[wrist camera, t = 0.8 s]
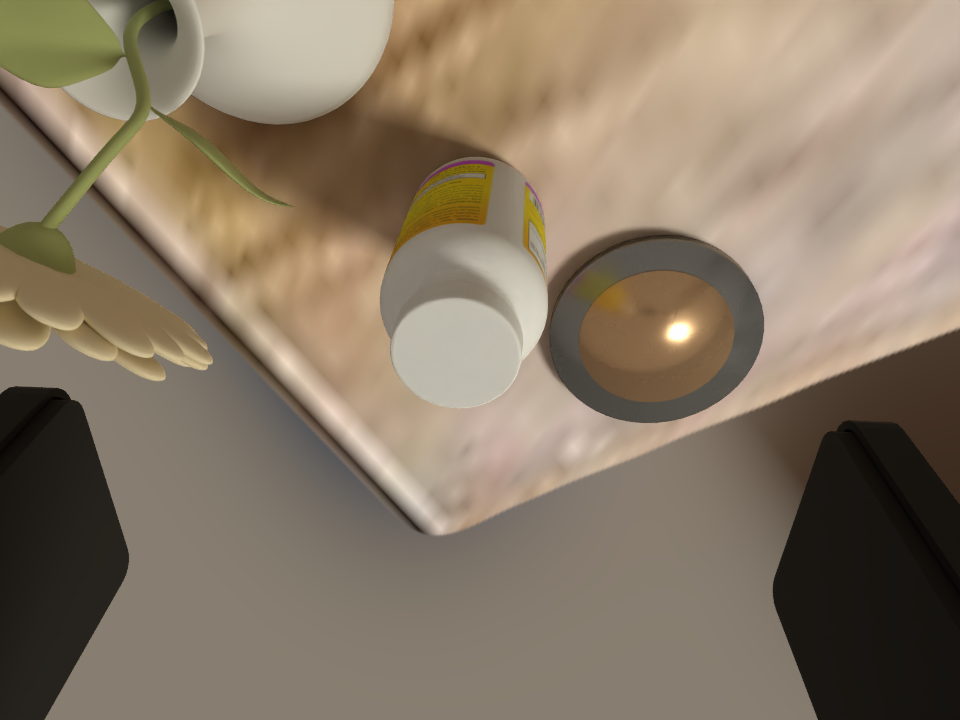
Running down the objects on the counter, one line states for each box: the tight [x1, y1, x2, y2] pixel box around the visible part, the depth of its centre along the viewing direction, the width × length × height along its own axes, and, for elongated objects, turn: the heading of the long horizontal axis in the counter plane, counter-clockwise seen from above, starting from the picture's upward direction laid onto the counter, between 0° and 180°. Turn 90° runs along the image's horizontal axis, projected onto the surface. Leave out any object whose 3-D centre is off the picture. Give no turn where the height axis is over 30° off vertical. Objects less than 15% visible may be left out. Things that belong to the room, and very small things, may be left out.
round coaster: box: [550, 235, 764, 423], centre depth 39 cm, size 11×11×1 cm
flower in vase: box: [0, 0, 394, 381], centre depth 21 cm, size 13×11×25 cm
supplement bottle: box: [380, 157, 548, 408], centre depth 31 cm, size 7×7×13 cm
